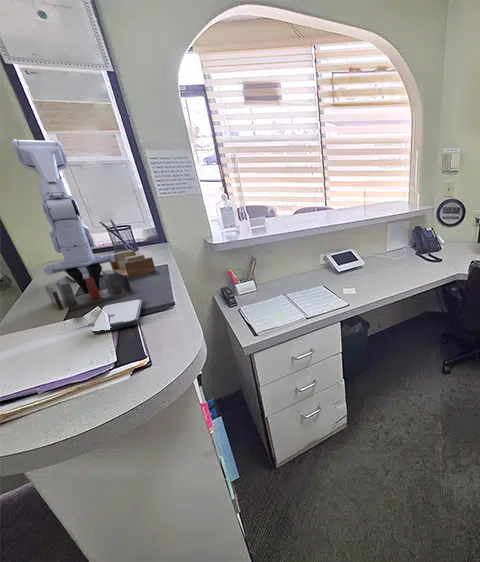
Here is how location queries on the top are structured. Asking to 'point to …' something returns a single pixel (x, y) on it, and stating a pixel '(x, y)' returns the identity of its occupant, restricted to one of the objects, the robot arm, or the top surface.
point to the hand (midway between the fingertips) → (91, 291)
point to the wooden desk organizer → (132, 264)
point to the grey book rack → (115, 285)
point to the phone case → (123, 314)
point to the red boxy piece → (91, 287)
